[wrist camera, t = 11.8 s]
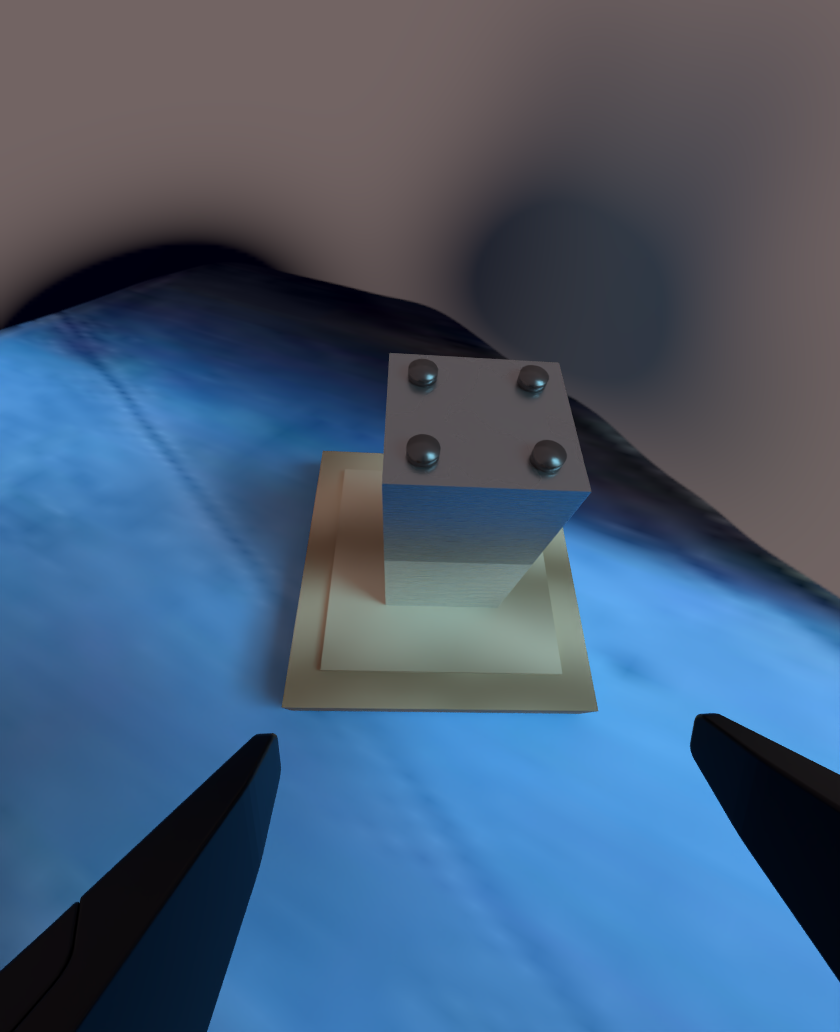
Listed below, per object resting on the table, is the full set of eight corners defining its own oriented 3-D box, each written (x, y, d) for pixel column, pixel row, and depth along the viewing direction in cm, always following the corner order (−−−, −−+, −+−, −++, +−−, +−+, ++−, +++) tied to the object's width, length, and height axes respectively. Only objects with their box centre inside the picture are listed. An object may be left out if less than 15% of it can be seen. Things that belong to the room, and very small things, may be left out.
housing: (497, 607, 20) (596, 485, 10) (385, 605, 19) (381, 476, 10) (488, 519, 22) (562, 355, 13) (389, 515, 22) (389, 344, 12)
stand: (579, 713, 20) (601, 710, 18) (291, 710, 19) (279, 706, 17) (539, 479, 26) (551, 458, 24) (327, 470, 26) (322, 447, 24)
